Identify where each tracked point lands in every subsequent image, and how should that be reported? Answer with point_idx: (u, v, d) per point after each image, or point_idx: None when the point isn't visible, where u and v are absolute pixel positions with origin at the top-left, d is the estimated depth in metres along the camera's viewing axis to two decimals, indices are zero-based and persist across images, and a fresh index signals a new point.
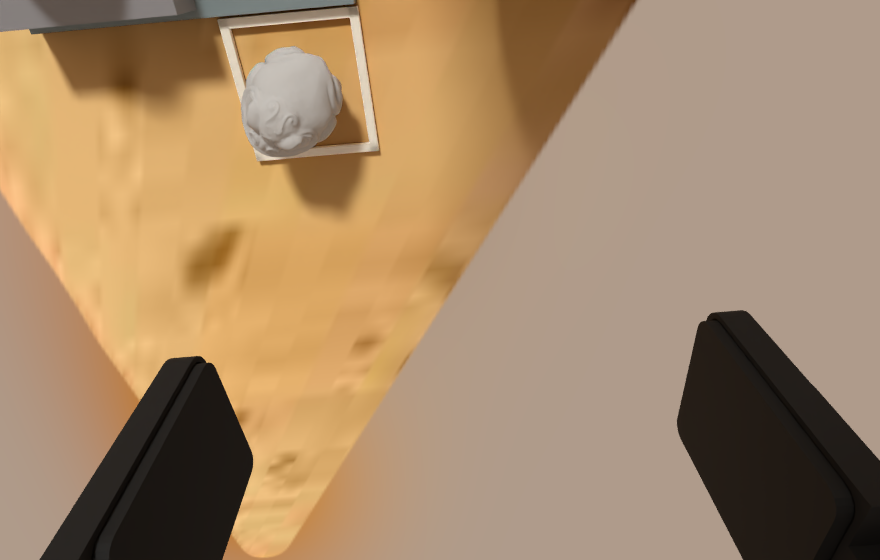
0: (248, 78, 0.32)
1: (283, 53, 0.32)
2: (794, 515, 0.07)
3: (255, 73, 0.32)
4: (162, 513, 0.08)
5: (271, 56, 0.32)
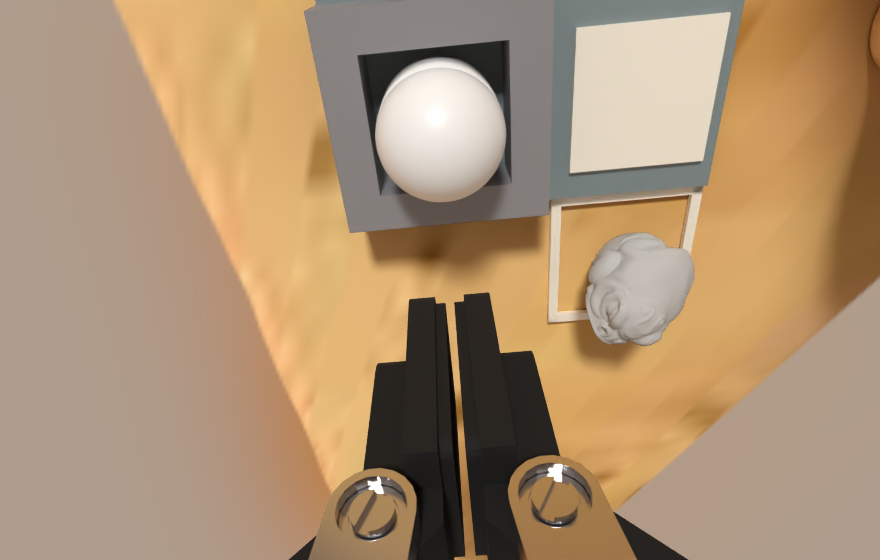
0: (601, 269, 0.30)
1: (647, 246, 0.30)
2: None
3: (611, 265, 0.30)
4: (452, 425, 0.09)
5: (635, 250, 0.30)
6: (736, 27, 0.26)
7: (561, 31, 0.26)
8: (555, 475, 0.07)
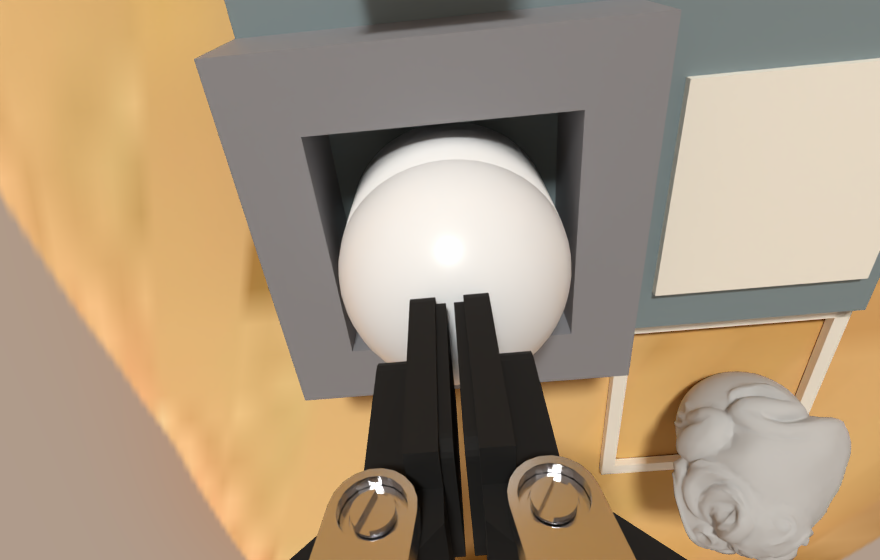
0: (702, 444, 0.19)
1: (778, 415, 0.19)
2: None
3: (718, 439, 0.19)
4: (453, 425, 0.09)
5: (761, 422, 0.19)
6: None
7: None
8: (554, 475, 0.07)
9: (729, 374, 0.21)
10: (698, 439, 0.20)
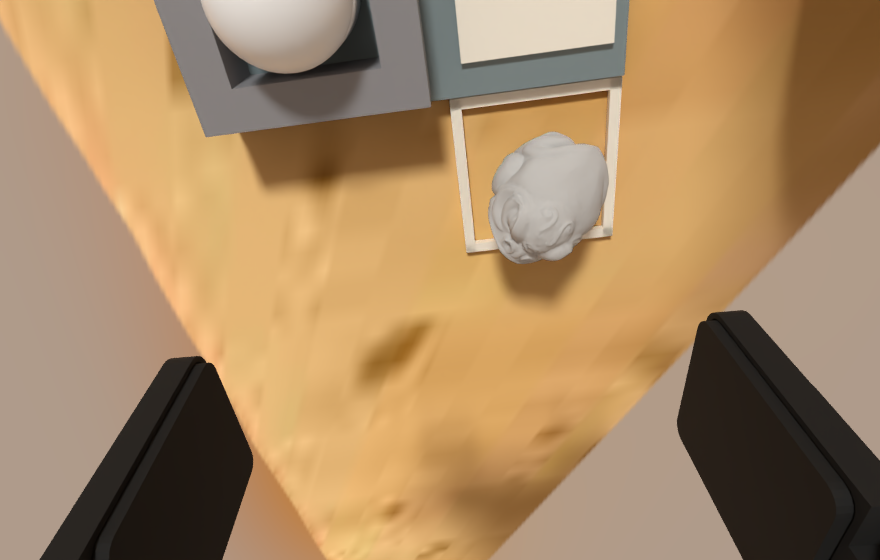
0: (502, 174, 0.26)
1: (551, 144, 0.26)
2: (794, 515, 0.07)
3: (512, 168, 0.26)
4: (162, 513, 0.08)
5: (537, 149, 0.26)
6: None
7: None
8: None
9: None
10: (500, 172, 0.27)
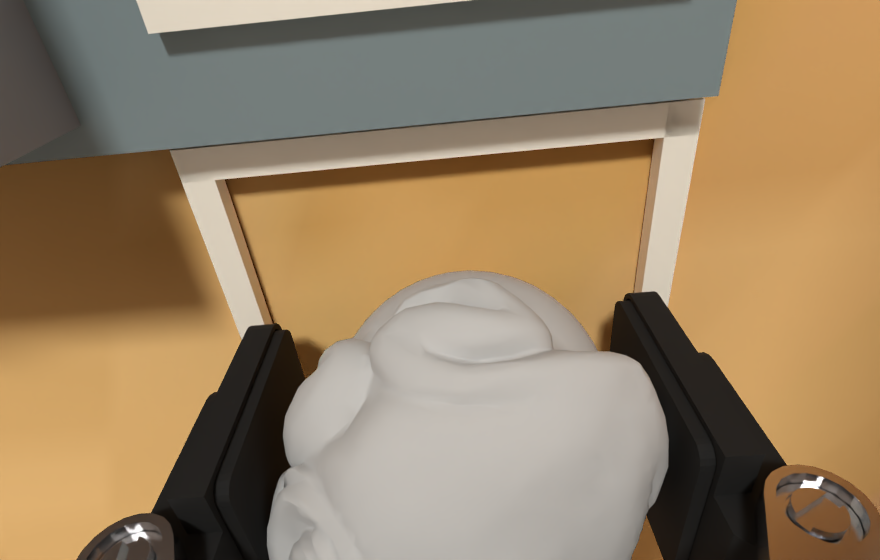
0: (298, 426, 0.08)
1: (464, 345, 0.07)
2: (676, 472, 0.08)
3: (330, 414, 0.07)
4: (261, 461, 0.08)
5: (410, 364, 0.07)
6: None
7: None
8: (826, 492, 0.07)
9: (440, 274, 0.10)
10: (294, 415, 0.08)
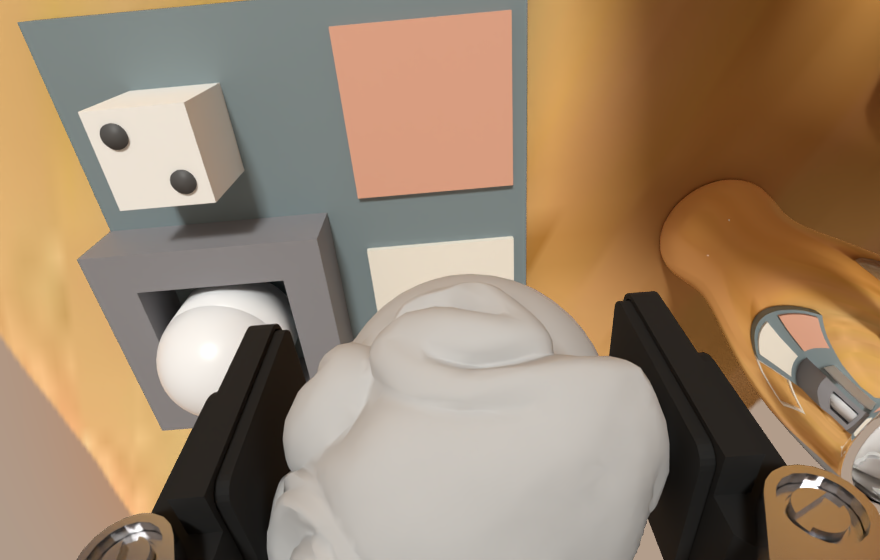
0: (298, 431, 0.08)
1: (464, 350, 0.07)
2: (676, 472, 0.08)
3: (329, 418, 0.07)
4: (261, 461, 0.08)
5: (411, 369, 0.07)
6: (523, 247, 0.27)
7: (355, 251, 0.27)
8: (826, 492, 0.06)
9: None
10: (294, 419, 0.08)
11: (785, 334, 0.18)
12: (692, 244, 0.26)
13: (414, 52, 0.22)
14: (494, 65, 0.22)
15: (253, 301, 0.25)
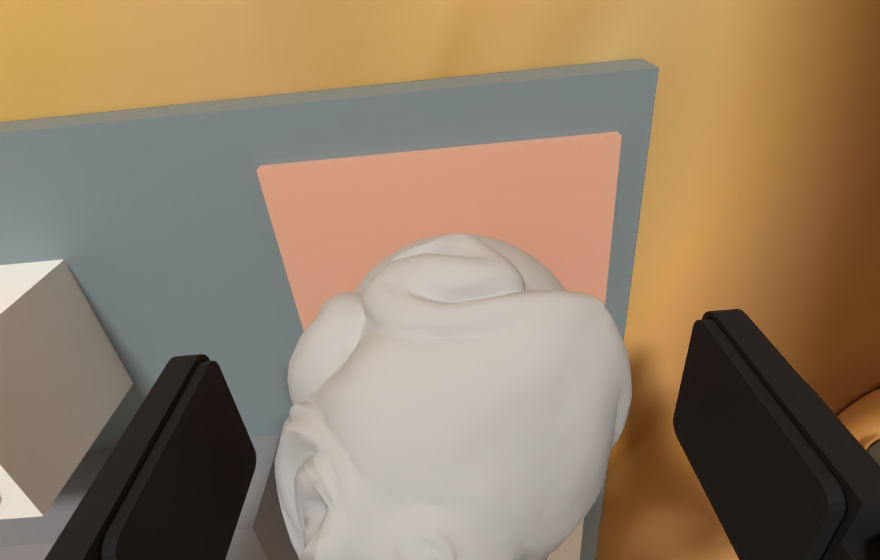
0: (300, 368, 0.08)
1: (444, 287, 0.08)
2: (787, 512, 0.07)
3: (328, 354, 0.08)
4: (167, 510, 0.08)
5: (397, 304, 0.08)
6: None
7: None
8: None
9: (429, 237, 0.10)
10: (297, 358, 0.09)
11: None
12: None
13: (425, 210, 0.11)
14: (578, 229, 0.12)
15: None
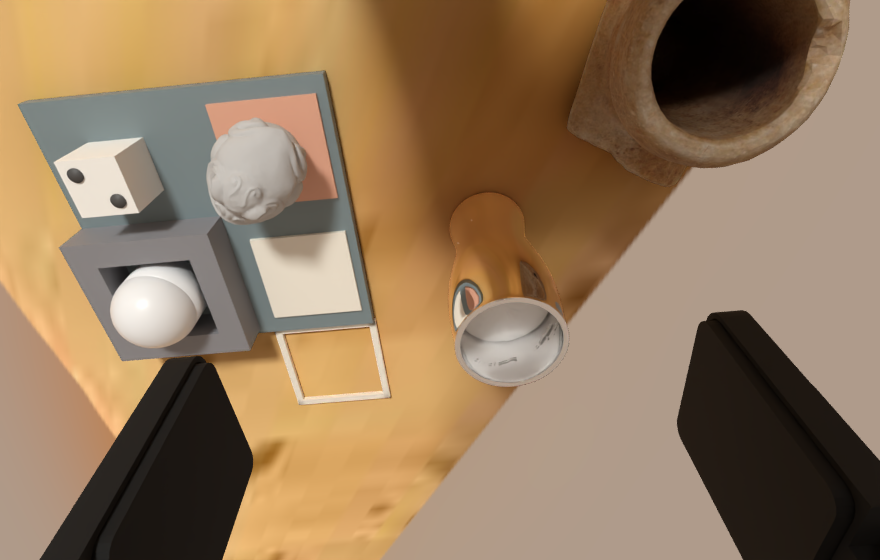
0: (212, 151, 0.33)
1: (245, 126, 0.32)
2: (794, 515, 0.07)
3: (219, 146, 0.33)
4: (162, 513, 0.08)
5: (233, 130, 0.32)
6: (354, 238, 0.41)
7: (243, 241, 0.41)
8: None
9: None
10: (212, 149, 0.33)
11: (452, 288, 0.32)
12: (456, 235, 0.40)
13: (260, 118, 0.36)
14: (311, 125, 0.36)
15: (172, 273, 0.39)
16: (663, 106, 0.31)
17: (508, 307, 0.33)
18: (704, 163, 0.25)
